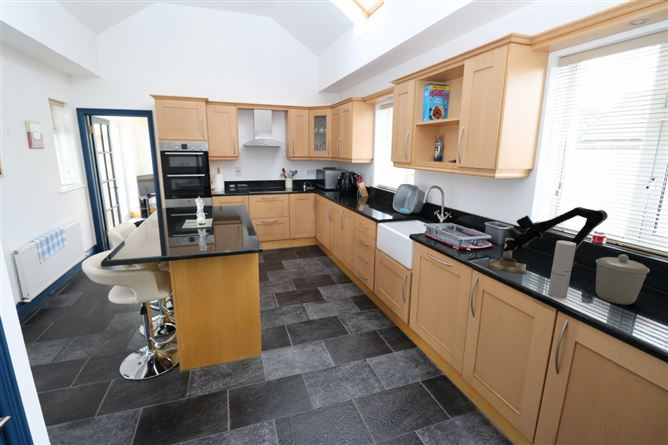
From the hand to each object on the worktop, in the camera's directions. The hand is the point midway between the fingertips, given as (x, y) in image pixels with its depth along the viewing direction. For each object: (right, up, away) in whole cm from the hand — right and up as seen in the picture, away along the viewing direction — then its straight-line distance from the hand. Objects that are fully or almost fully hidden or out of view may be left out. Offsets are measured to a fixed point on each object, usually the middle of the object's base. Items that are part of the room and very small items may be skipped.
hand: (505, 250), depth 197 cm
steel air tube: (+1, -7, 0) cm, 7 cm away
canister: (+23, -18, -50) cm, 58 cm away
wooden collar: (-5, -7, -11) cm, 14 cm away
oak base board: (-5, -9, -10) cm, 14 cm away
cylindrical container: (-1, -17, -47) cm, 49 cm away
